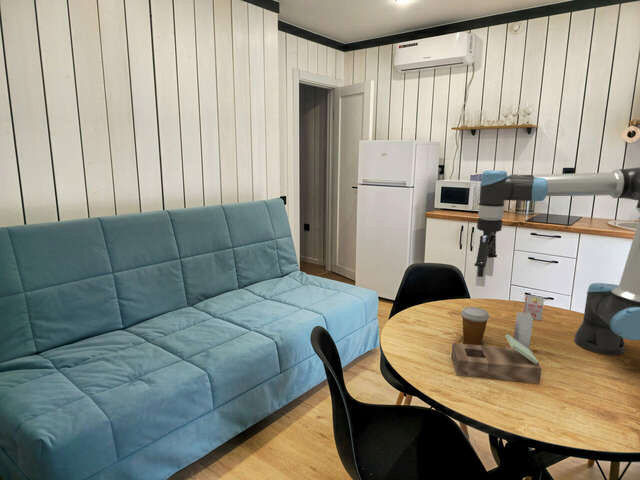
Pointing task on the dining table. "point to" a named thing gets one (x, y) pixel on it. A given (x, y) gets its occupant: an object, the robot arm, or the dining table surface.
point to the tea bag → (534, 306)
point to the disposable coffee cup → (474, 325)
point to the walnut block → (494, 363)
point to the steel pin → (523, 328)
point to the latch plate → (521, 349)
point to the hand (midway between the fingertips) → (484, 280)
